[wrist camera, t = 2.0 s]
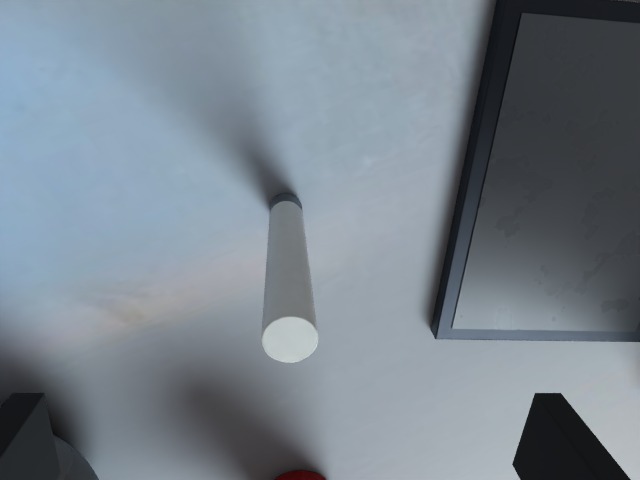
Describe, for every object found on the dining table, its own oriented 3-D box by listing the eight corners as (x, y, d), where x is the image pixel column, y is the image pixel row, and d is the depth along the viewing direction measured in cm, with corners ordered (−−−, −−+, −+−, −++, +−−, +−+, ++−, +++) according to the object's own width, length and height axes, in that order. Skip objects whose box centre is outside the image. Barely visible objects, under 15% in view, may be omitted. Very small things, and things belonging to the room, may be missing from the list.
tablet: (497, -8, 25) (508, -11, 24) (759, 17, 26) (782, 15, 25) (430, 329, 33) (435, 340, 32) (630, 332, 35) (642, 343, 34)
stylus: (270, 192, 28) (261, 315, 15) (302, 193, 28) (320, 316, 16) (269, 222, 29) (260, 363, 16) (300, 223, 29) (316, 363, 16)
